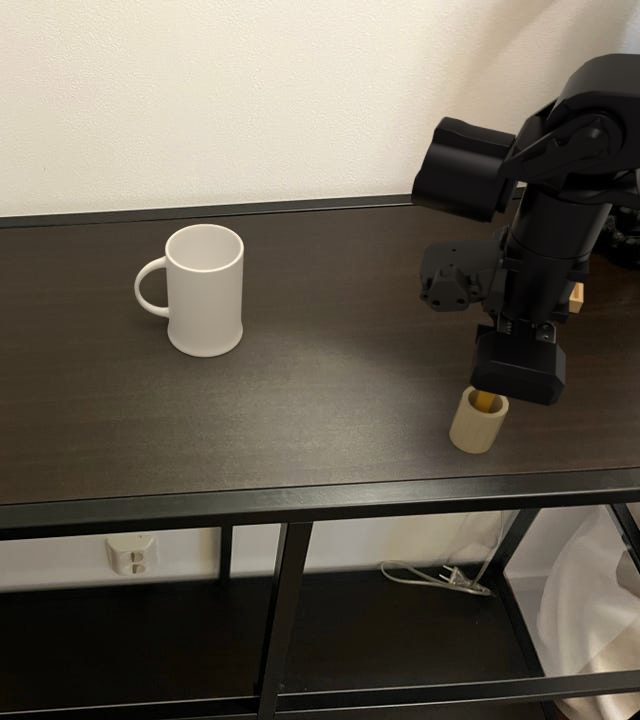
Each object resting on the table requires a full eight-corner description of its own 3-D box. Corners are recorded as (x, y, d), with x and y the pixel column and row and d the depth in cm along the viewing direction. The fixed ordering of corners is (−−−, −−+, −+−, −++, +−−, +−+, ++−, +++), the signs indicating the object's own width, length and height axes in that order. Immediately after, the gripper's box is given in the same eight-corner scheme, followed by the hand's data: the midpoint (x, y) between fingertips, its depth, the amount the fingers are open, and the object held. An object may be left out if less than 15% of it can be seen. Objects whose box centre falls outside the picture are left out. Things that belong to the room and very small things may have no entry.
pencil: (484, 416, 71) (513, 346, 64) (483, 426, 70) (512, 356, 64) (470, 413, 72) (497, 343, 65) (468, 423, 71) (496, 353, 64)
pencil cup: (493, 427, 74) (509, 390, 70) (490, 458, 71) (507, 422, 67) (451, 417, 75) (465, 380, 71) (446, 447, 72) (460, 411, 68)
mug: (136, 357, 83) (127, 273, 74) (142, 305, 89) (135, 222, 80) (243, 358, 82) (247, 273, 73) (242, 306, 88) (245, 222, 79)
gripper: (453, 155, 64) (416, 293, 75) (422, 291, 52) (384, 431, 63) (596, 176, 60) (535, 317, 72) (598, 326, 49) (525, 467, 60)
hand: (494, 377), depth 67 cm, fingers closed on pencil, 1 cm apart
